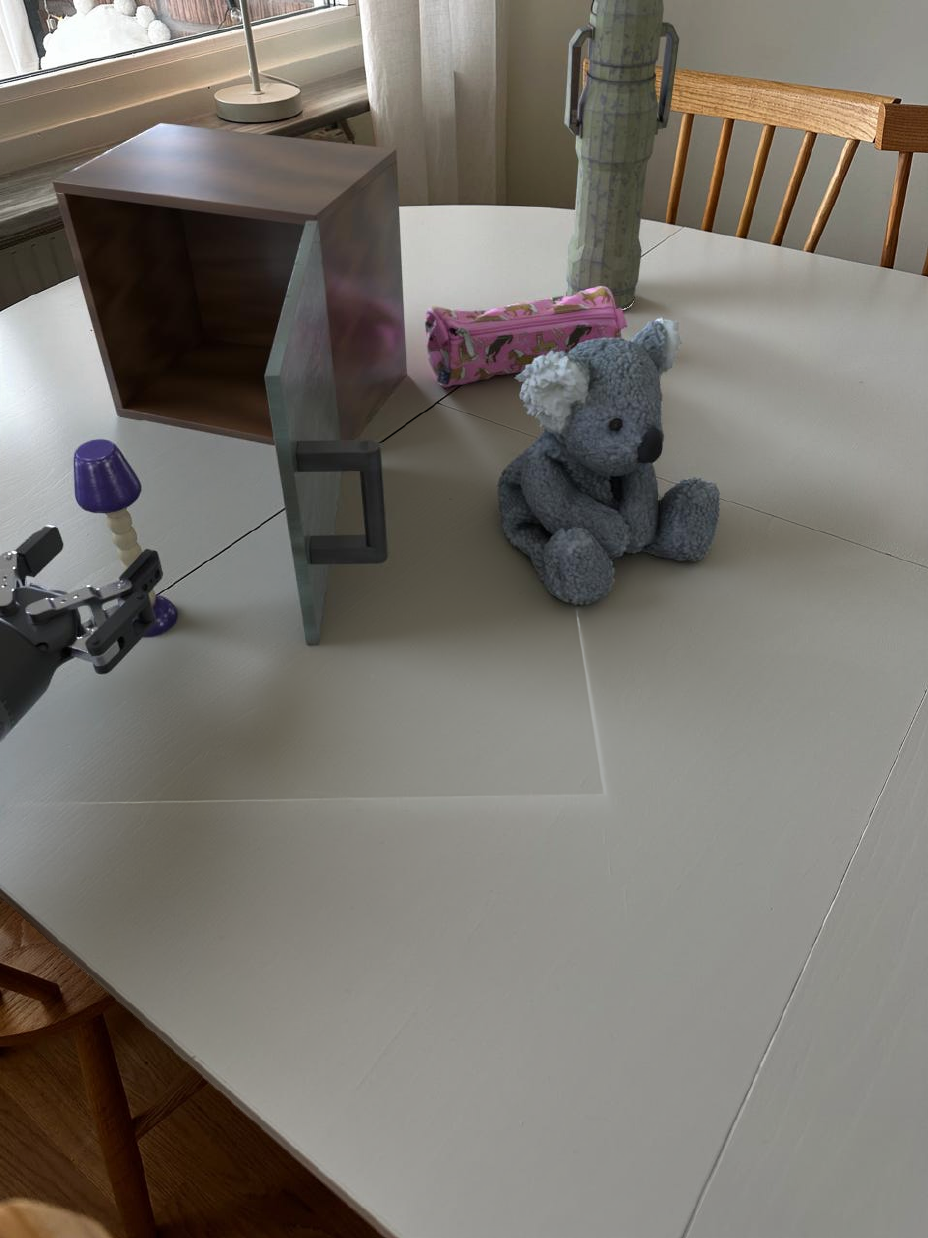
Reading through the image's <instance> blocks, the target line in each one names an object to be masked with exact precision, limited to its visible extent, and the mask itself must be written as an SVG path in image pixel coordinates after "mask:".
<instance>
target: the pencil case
mask: <svg viewBox="0 0 928 1238" xmlns="http://www.w3.org/2000/svg"><path fill="white" fill-rule="evenodd" d="M424 328H425V329H424V330H425V336H426V351H427V358H428V363H429V365H430V367H431V369H432V371H433V373H434V375H435V379H436V381H437V383H438V385H439V386H441V387H443V388H449V387H452V386H463V385H466V384H471V383H475V382H478V381H481V380H488V379H490V378H492V377H494V376H500V375H501V376H502V375H510V374H517V373H522V371H524V370H525V369H526V367H525V365H529V364H532V362H533V360H534V358H537V357H539V356H542V355H543V354H544V356H546V355H547V354H548V353H549V352H550V351H553V352H555V353H556V352H560V351H565V352H566V353H569V352H570V350H572V349H573V348H574V347H575V346H576V345H577V344H579V343H580V342H585V341H587V340H591V339H596V338H597V339H598V338H604V337H606V338H611V337H613V338H623V336H622V330H623V329H624V328H625V329H626V328H628V323H627V320H626V318H625V314H624V311H623V310H622V308H618V309H616V305H615V301H614V298H613V295H612V293H611V291H610V290H609V289H608V288H607V287H604V286H603V287H602V286H598V287H595V288H591V289H587V290H584V291H580V292H578V293H577V294H575V295H574V296H572V297H569V296H566V295H560V296H554V297H542V298H536V299H531V300H524V301H520V302H515V303H512V304H511V303H510V304H507V305H502V306H497V307H493V308H490V309H485V310H466V309H465V310H464V309H451V308H445V307H441V306H436V305H435V306H431V308H428V309H427V310H426V312H425V317H424Z"/></svg>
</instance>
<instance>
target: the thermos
mask: <svg viewBox="0 0 928 1238" xmlns="http://www.w3.org/2000/svg"><path fill="white" fill-rule="evenodd" d="M664 5H665V4H664V0H592V1H591V5H590V14H589V15H590V16H589V17H590V18H589V22H587V25H584V26H582V27H579V28H577V30H576V31H575V33H574V34H573V35H572V37H571V39H570V40H569V42H568V54H567V55H568V57H567V73H566V93H565V108H564V121H563V123H564V125H565V126H566V127H567V129H569V131H570V132H571V133H572V134H573V135H574V136H575V153H576V156H577V159H578V164H577V165H578V166H577V180H576V181H577V182H576V192H575V193H576V195H575V207H574V208H575V209H574V210H575V211H574V221H573V233H572V236H571V239H570V240H569V243H568V246H567V257H566V273H565V278H566V282H567V283H566V284H567V285H566V292H565V296H569V297H572V296H574V295H575V294H577V293H578V292H580V291H584V290H587V289H591V288H595V287H598V286H602V287H603V286H604V287H607V288H608V289H609V290H610V291H611V293H612V295H613V298H614V301H615V305H616V309H618V308H622V309H624V308H627V307H629V306H630V305H631V304H632V303H633V301H634V302H635V300H634V299H635V294H636V287H637V285H638V282H639V275H640V270H641V269H640V267H641V260H642V251H643V250H642V246H641V242H640V241H641V240H640V231H641V230H640V229H641V220H642V211H643V203H644V197H645V196H644V195H645V186H646V178H647V169H648V162H649V161H650V159H651V157H652V155H653V154H654V145H655V137H656V136H658V133H659V130H661V129H662V130H663V129H667V126H668V123H669V118H670V114H671V113H670V112H671V107H672V100H673V90H674V84H675V76H676V69H677V68H676V67H677V61H678V52H679V46H680V37H679V35H678V33H677V31H676V28H675V27H674V25H673V24H671V23H669V22H668V21H664V11H665V7H664ZM661 38H665V41H666V42H665V46H664V47H665V48H664V56H663V64H662V72H661V81H660V89H659V97H658V95H657V88H656V82H657V73H656V64H657V61H658V60H659V54H660V47H661V46H660V45H661ZM587 39H588V42H587V43H588V44H587V59H588V67H587V68H588V70H587V71H586V72H585V83H584V85H583V89H582V91H581V94H580V97H579V90H580V77H581V76H580V75H581V62H582V61H581V59H582V47H583V46H584V43H585V42H586V40H587ZM633 304H634V303H633Z"/></svg>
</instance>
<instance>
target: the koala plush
mask: <svg viewBox="0 0 928 1238" xmlns="http://www.w3.org/2000/svg"><path fill="white" fill-rule="evenodd" d="M679 324H680V322H679V321H676V320H675V319H674V320H670V319H667V318H663V315H661V317H659V318H657V319H655V320H651V321H648V322H647V323H646V324H645V326H644V327H642V329H641V330H640V331H638V332H637V333H636V334H635V335H634V336H633V337H632V339H631V340H628V339H624V338H623V337H622V338H613V337H611V338H606V337H604V338H598V339H597V338H596V339H591V340H587V341H585V342H580V343H579V344H577V345H576V346H575V347H574V348H573V349H572V350H570V352H569V353H566V352H565V351H560V352H556V353H555V352H553V351H550V352H549V353H548V354H547V355H546V356H544V354H543V355H542V356H539V357H537V358H534V360H533V362H532V364H529V365H525V367H526V369H525V370H524V371H521V372H519V373H518V374H515V377H514V378H513V379H515V380H517V381H518V382H519V383H522V384H521V388H520V391H519V394H518V395H519V400H520V401H523V403H524V404H523V408H525V409H526V410H527V411H526V415H531V416H533V417H534V418H535V419H537V420H538V421H539V423H540V424H539V428H542V427H544V430H543V432H542V434H540V435H539V437H538V438H537V439H536V440H534V443H532V444H531V445H530V446H529V447H528V448H526V449H525V450H524V451H523V452H522V453H520V454H518V456H517V457H515V459H514V460H512V461H511V462H510V463H509V464H507V466H506V467H505V468H504V469H503V470H502V472H501V473H500V474H501V475H500V477H499V479H498V483H497V485H496V487H497V489H496V493H497V500H498V510H499V512H500V514H499V515H500V517H501V520H502V521H503V522H502V529H503V532H504V534H505V537H506V538H507V539H509V543H510V545H511V546H512V545H513V547H515V548H518V549H519V550H520V551H521V553H522V554H525V555H527V556H528V557H529V558H530V560H531V563H532V565H533V568H534V569H535V572H536V573H537V576H538V577H539V580H541V581H542V583H543V585H544V587H545V588H546V590H547V591H548V593H549V594H550V595H552V596H554V597H556V598H557V599H558V600H561V601H562V602H563V603H569V604H571V605H572V604H573V605H579V604H580V605H579V606H583V605H584V604H585V605H592V603H595V602H596V601H598V600H599V599H602V598H605V597H607V595H609V593H610V592H611V590H612V585H613V584H615V578H614V577H615V574H616V573H615V567H614V566H613V560H615V558H618V557H621V556H623V555H624V553H627V554H628V555H630V554H632V555H635V554H637V553H640V552H641V551H642V552H644V553H648V554H650V555H654V556H656V557H661V558H666V559H671V560H676V561H678V562H680V561H691V562H695V561H701V560H704V559H705V556H707V554H708V552H709V550H710V548H711V547H712V544H713V540H714V539H715V536H716V535H717V529H718V523H719V518H720V510H721V508H720V505H721V503H720V501H721V499H720V497H721V492H720V490H719V488H718V486H717V483H715V482H713V481H708V482H707V481H705V480H702V478H701V477H699V478H698V477H696V476H694V477H692V478H687V479H685V478H684V479H683V480H682V479H681V480H680V481H679V482H678V483H675V484H674V486H672V487H670V488H669V489H668V490H667V491H666V492H665V493H664V494H663V496H662V497H661V498H659V496H660V495H659V489H658V479H657V474H656V470H655V467H654V464H653V463H655V462H657V461H658V460H659V458H660V457H661V456H662V453H663V448H664V442H665V433H664V430H663V423H662V415H663V414H662V409H663V408H662V402H663V391H662V388H661V387H662V386H661V385H662V384H661V380H662V376H663V374H664V372H665V373H667V372H668V371H669V370H670V369H672V368H673V365H674V363H675V361H676V359H679V358H678V356H676V352H677V351H679V348H680V347H681V346H680V345H682V340H681V339H680V336H679ZM688 559H689V560H688Z"/></svg>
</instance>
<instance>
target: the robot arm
mask: <svg viewBox="0 0 928 1238" xmlns="http://www.w3.org/2000/svg"><path fill="white" fill-rule="evenodd" d="M63 549H64V541H63V537H62V535H61V533H60V530H59V528H58V527H57V526H54V525H50V524H46V525H45V526H43V527H42V528H41V529H38V530H37V531H35V532H33V533H31V535H30V536H29V537H28V538H27V539H25V540H24V541H23V542H22V543H21V544H20V545H19V546H18V547H17V548H16V549H15V550H14V551H6V552H3V553H2V554H0V743H1V742H2V741H3V740H4V739H5V738H6V737H7V736H8V735H9V733H10V732H11V731H12V730H13V729H14V728H15V727H16V726H17V725H18V723H19V722H20V721H21V720H22V719H23V718H24V717H25V716H26V714H27V713H28V712H29V711H30V710H31V708H33V707H34V706H35V705H36V703H37V702H38V701H39V700H40V699H41V697H43V695H44V694H45V693H46V692H47V691H48V689H49V687H50V684H51V682H52V680H53V677H54V675H55V673H56V671H57V669H58V668H59V667H61V666H62V665H63V664H65V663H68V662H69V661H71V660H73V659H74V658H77V659H80V660H83V661H86V662H89V663H91V664H92V667H93V669H94V672H95V674H98V675H107V674H108V673H110V672H112V671H113V670H114V668H115V667H116V666H118V664H119V663H120V662H121V661H122V660H123V659H124V658H125V657H126V656H127V655H128V654H129V653H130V652H131V651H132V650H133V648H135V646H136V645H137V644H138V643H139V642H140V641H141V640H142V639H143V638H145V637H144V636H145V635H146V633H147V632H148V631H149V630H150V629H151V628H152V627H153V626H154V625H155V624H156V618H155V614H154V611H153V607H152V604H151V601H150V597H149V593H150V591H151V590H152V589H153V590H154V588H155V587H156V586H157V585H158V583H160V581H161V580H162V579H163V576H164V572H163V567H162V563H161V559H160V556H159V553H158V551H157V550H154V549H149V548H145V549H144V550H142V553H141V554H140V555H139V557H138V558H137V559H136V560H135V561H134V562H133V563H132V564H131V565H130V566H129V567H128V568H127V569H126V570H125V572H123V573H121V575H120V576H118V579H119V580H116V581H114V582H111V583H108V584H106V585H104V586H103V585H102V586H101V587H98V588H95V587H93V586H91V585H87V586H86V585H85V586H84V587H81V588H77V589H76V590H72V591H70V592H68V591H63V590H60V589H59V590H58V589H47V588H46V587H44V586H43V585H40V584H36V583H32V582H31V583H29V585H28V579H27V577H29V578H36V576H38V574H40V573H41V571H43V569H44V568H46V567H47V566H48V564H50V563H51V562H52V561H53V560H54V559H55V558H56V557H57V556H58V555H59V554H60V553H61V552H63ZM115 600H117V603H118V604H115V605H113V606H111V607H108V608H106V609H103V606H104V605H105V604H106V603H109V602H112V601H115ZM81 607H87V608H88V611H89V614H90V617H89V620H87V621H85V622H83V623H82V616H81V613H80V610H79V608H81ZM133 619H135V620H134V621H133Z"/></svg>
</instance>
